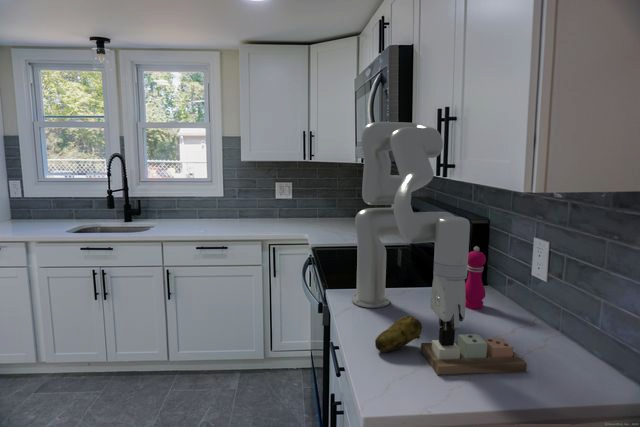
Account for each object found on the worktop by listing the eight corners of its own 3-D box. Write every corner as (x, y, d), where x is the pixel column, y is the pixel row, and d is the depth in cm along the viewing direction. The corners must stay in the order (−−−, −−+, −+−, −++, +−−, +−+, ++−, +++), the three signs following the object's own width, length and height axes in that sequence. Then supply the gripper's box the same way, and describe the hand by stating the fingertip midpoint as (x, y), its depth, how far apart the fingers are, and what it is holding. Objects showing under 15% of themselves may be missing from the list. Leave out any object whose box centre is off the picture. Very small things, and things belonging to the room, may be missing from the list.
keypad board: (420, 350, 108) (421, 342, 108) (499, 348, 110) (500, 340, 110) (437, 375, 96) (438, 366, 96) (526, 372, 98) (526, 363, 98)
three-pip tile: (482, 353, 106) (483, 337, 105) (501, 353, 106) (502, 337, 106) (491, 363, 101) (493, 347, 100) (512, 363, 101) (513, 346, 101)
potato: (369, 342, 113) (369, 313, 111) (415, 339, 114) (416, 311, 113) (377, 357, 104) (378, 326, 103) (427, 354, 106) (429, 324, 105)
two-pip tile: (457, 350, 105) (458, 333, 104) (476, 349, 105) (477, 333, 105) (465, 359, 100) (466, 343, 99) (486, 359, 101) (487, 342, 100)
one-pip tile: (431, 355, 105) (432, 339, 104) (451, 354, 105) (451, 338, 104) (438, 365, 100) (439, 348, 99) (459, 364, 100) (460, 348, 100)
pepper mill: (481, 302, 143) (485, 244, 140) (487, 310, 136) (491, 249, 133) (459, 301, 144) (462, 243, 141) (464, 309, 137) (467, 248, 134)
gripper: (424, 261, 106) (421, 331, 109) (446, 279, 91) (442, 359, 94) (453, 261, 107) (449, 330, 109) (480, 278, 92) (475, 358, 95)
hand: (446, 343), depth 102 cm, fingers closed
